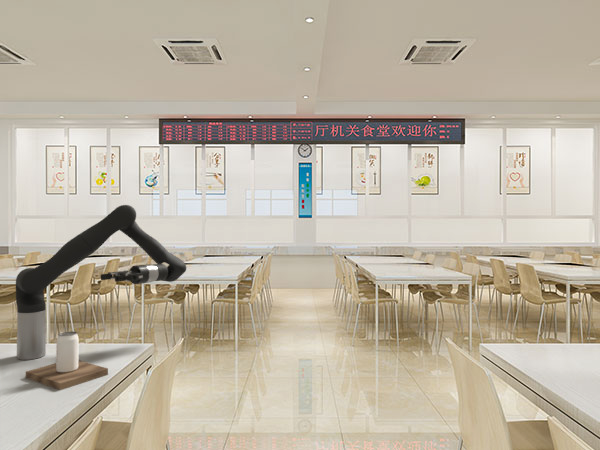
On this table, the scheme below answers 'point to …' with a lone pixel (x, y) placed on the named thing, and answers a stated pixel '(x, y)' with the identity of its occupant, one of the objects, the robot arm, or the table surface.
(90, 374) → the serving board
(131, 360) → the table surface
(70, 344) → the can
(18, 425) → the table surface
